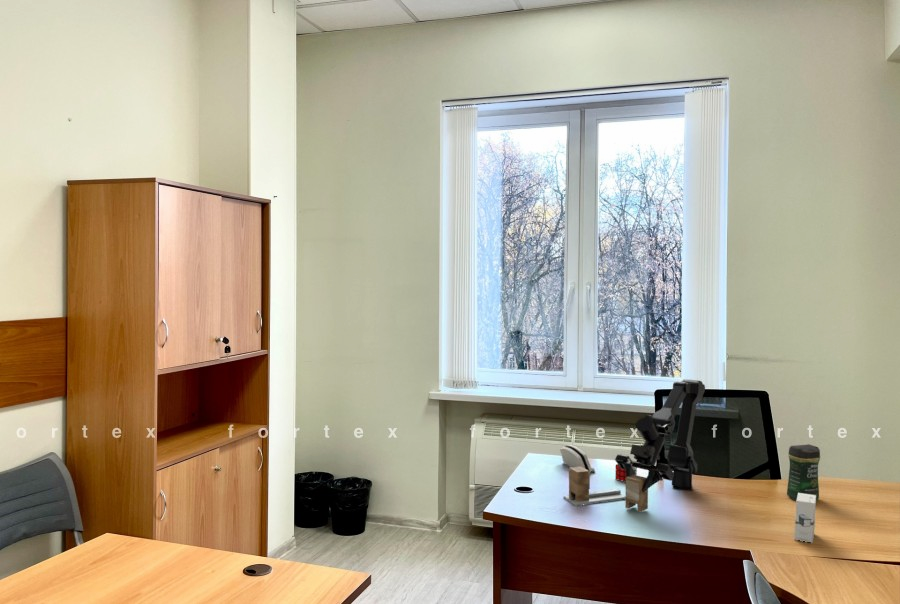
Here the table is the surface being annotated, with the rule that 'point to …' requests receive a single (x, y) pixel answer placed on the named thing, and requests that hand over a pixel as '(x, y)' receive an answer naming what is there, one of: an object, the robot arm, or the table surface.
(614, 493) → the rail
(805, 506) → the ink box
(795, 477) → the coffee jar
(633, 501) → the notched wooden block
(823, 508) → the table surface
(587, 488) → the fitted finger
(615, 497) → the base board
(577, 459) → the white napkin holder
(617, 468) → the puzzle toy
